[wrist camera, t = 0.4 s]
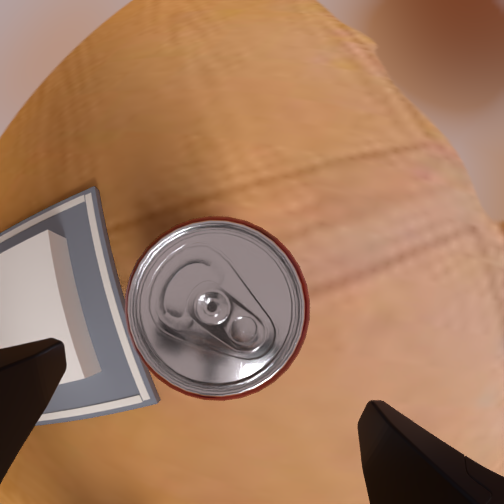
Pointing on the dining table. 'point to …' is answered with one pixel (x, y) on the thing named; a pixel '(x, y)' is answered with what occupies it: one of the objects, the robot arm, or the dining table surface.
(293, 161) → the dining table surface
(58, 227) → the base
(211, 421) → the dining table surface
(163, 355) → the soda can
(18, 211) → the dining table surface
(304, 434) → the dining table surface
